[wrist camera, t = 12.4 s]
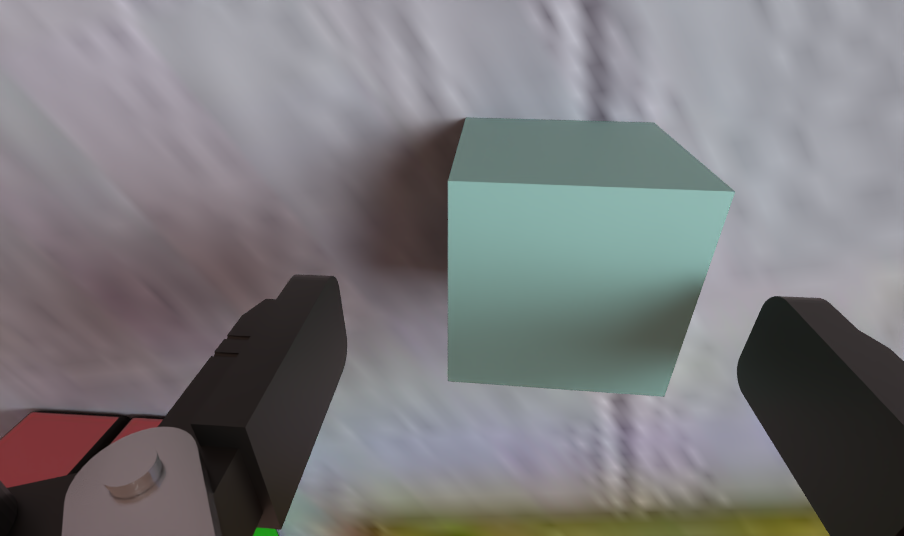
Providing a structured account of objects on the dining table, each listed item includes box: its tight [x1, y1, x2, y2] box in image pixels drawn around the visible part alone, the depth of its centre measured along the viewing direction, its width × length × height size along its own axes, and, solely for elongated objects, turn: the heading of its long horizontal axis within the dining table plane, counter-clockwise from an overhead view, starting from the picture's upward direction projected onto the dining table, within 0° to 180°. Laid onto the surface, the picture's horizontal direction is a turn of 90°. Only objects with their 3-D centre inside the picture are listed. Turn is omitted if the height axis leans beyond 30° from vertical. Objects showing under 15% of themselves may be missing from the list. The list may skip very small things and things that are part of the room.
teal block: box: [448, 118, 735, 397], centre depth 12 cm, size 5×5×5 cm
